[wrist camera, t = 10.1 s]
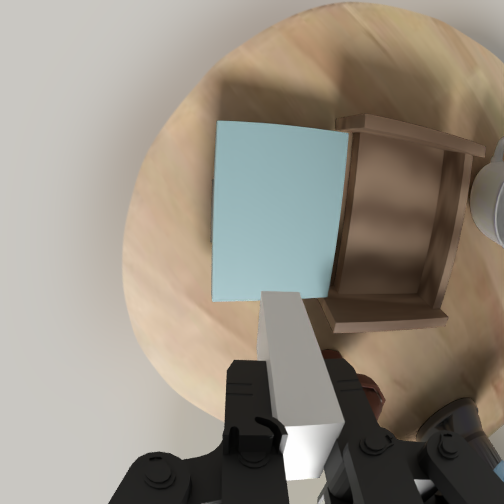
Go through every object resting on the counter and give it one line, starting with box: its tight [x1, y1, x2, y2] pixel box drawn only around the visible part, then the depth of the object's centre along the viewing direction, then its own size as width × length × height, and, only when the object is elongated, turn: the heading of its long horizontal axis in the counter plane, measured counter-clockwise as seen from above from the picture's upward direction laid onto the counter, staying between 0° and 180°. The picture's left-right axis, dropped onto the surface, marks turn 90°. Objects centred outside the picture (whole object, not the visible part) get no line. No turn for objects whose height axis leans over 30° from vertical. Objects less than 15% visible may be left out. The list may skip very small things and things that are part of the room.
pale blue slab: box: [211, 121, 349, 302], centre depth 29 cm, size 17×3×12 cm
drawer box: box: [318, 113, 486, 333], centre depth 29 cm, size 20×14×8 cm
